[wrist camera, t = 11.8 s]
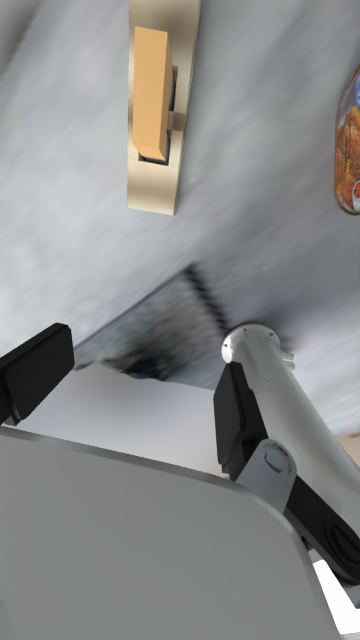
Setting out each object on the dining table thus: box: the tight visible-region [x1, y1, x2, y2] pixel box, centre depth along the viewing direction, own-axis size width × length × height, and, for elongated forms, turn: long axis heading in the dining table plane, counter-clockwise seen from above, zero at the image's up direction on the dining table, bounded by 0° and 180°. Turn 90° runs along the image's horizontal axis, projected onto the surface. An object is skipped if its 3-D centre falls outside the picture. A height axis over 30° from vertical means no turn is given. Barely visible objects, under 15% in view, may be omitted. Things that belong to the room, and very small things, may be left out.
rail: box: [127, 0, 201, 216], centre depth 23 cm, size 20×7×3 cm, turn 171°
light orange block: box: [133, 26, 175, 165], centre depth 21 cm, size 8×3×8 cm, turn 171°
